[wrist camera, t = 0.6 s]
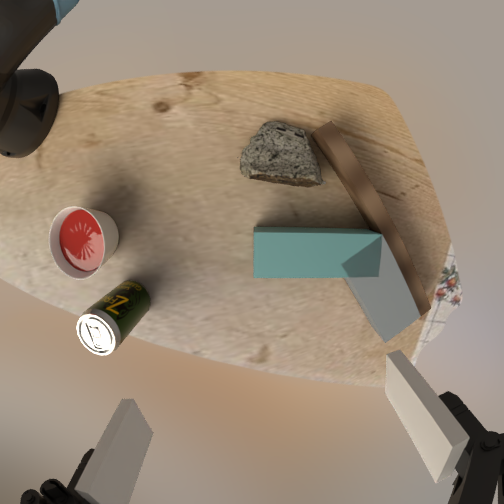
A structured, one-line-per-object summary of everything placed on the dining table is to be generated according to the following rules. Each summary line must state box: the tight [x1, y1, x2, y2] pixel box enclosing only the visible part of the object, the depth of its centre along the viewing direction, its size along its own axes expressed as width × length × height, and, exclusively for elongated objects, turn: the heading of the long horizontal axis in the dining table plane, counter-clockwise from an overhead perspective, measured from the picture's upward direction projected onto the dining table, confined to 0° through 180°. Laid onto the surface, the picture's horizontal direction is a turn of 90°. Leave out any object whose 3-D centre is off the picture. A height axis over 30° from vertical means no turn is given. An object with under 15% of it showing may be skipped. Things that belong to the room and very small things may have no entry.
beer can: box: [77, 280, 150, 355], centre depth 32 cm, size 5×5×12 cm
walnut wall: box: [311, 121, 431, 316], centre depth 34 cm, size 28×2×4 cm, turn 35°
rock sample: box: [237, 121, 326, 187], centre depth 32 cm, size 10×8×9 cm
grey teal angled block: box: [254, 227, 420, 343], centre depth 35 cm, size 21×15×5 cm
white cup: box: [49, 206, 119, 280], centre depth 33 cm, size 9×9×6 cm
